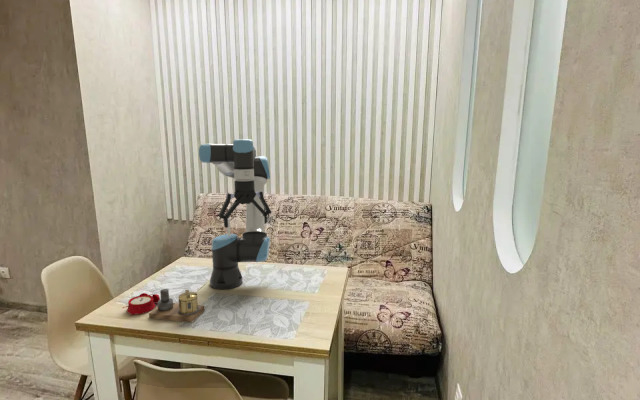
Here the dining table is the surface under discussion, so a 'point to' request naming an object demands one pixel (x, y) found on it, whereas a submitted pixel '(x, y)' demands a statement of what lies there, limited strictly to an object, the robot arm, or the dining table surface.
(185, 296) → the cap
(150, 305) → the alarm clock
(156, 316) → the post plinth
